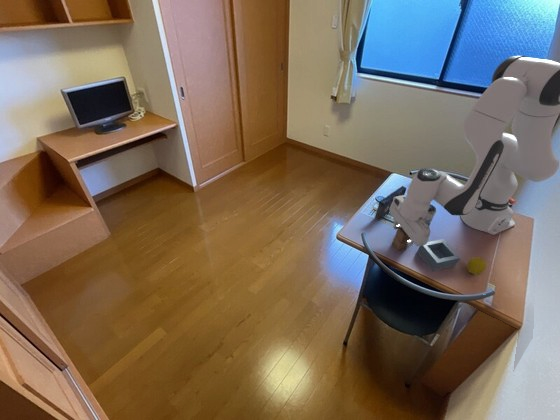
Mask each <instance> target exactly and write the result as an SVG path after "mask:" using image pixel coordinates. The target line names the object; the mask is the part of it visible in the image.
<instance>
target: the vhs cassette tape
mask: <svg viewBox="0 0 560 420" xmlns="http://www.w3.org/2000/svg"><path fill="white" fill-rule="evenodd" d="M405 193H407V187H405V186H404V185H402V186H401V187H399V188H396V190H395V191H393V192H391V193H390V194H389V195H387V196H386V197H385V198H383V199H381V200H380V201H379V202H378V206H377V209H376V212H375V216H374V218H375V219H376V220H378V221H380V220H382V219H383V218H385V217H386V216H387V215H389V214H390V213H389V212H390V206H391V204H392V202H393V198H394V197H396V196H401V195H406V194H405ZM388 213H389V214H388ZM386 214H387V215H386ZM385 215H386V216H385ZM384 216H385V217H384Z"/></svg>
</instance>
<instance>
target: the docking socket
mask: <svg viewBox="0 0 560 420" xmlns="http://www.w3.org/2000/svg"><path fill="white" fill-rule="evenodd" d="M416 252H417V253H418V255H419V256H420V257H421V259H423V261H424V262H425V264H427V266H428V267H429V269H430V270H431V271H432V272H435V271H439V270H440V271H441V270H443V269H449V268H454V267H456V265H458V262H460V259H461V257H460V256H459V254H458V253H457V252H456V251H455V250H454V249H453V248H452V247H451V246H450V245H449V243H448V242H446V240H445V239H444V238H442V239H435V240H432V241H427V243H426V244H425V245H422V246H418V249H417V251H416Z"/></svg>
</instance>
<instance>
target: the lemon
mask: <svg viewBox="0 0 560 420" xmlns="http://www.w3.org/2000/svg"><path fill="white" fill-rule="evenodd" d="M486 268H487V262H486V261H485V260H484V259H483V258H482V257H477V256H476V257H475V256H474V257H472V258H471V259H469V261H468V262H467V264H466V269H467V270H468V271H467V272H469V273H470V274H472V275H481V274H482V273H484V272H485V270H486Z"/></svg>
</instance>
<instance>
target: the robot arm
mask: <svg viewBox="0 0 560 420" xmlns="http://www.w3.org/2000/svg"><path fill="white" fill-rule="evenodd" d="M559 116H560V62H557V61H555V60H552V59H551V60H550V59H541V58H536V57H527V56H526V55H525V56H524V55H512V56H510V57H508V58H506V59H504V60H503V61H502V62H500V63H499V65H498V66H497V67H496V69H495V70H494V72H493V74H492V78H491V84H490V85H489V86H488V87H487V88H486V89H485V90H484V91H483V93H482V94H481V95H480V97H478V99H477V100H476V101H475V103H474V104H473V105H472V107H471V109H470V110H469V112H467V115H466V117H465V118H464V121H463V123H462V129H461V130H462V135H463V137H464V139H465V140H466V142H467V143H468V144H469V145H470V147H471V149H472V150H473V152H474V154H475V156H476V162H475V163H476V164H475V166H474V168H473V170H472V171H471V174H470V175H469V177H468V179H467V182H466V183H465V184H463V183H462V182H460V181H459V180H457V179H455V178H454V177H453V176H451V175H449V174H448V173H447V172H444V171H442V170H437V169H434V168H430V167H424V168H421V169H418V171H417V172H416V173H415V174H414V176H413V178H412V179H411V181H410V184H409V185H408V187H407V189H406V194H404V195H401V196H396V197H394V198H393V202H392V204H391V206H390V213H389V214H390V215H391V216H392V217H393V228H394V230H397V229H398V227H402V228H403V230H404V231H405V232H406V233H407V235H408V236H409V237H410V238H411V239H410V241H409V240H408V241H407V243H406V244H407V247H412V246H413V245H415V246H416V247H420V246H422V245H425V244H426V243H427V242H429V239H430V236H431V229H430V225H429V224H426V223H425V221H424V220H423V219H424V218H425V216H426V214H427V212H428V210H429V207H430V204H431V203H432V202H433V201H435V203H437V204H438V205H440V206H441V207H442V208H443V209H444V210H445V211H447V213H449V214H450V215H451V216H460V219H461V220H462V221H463V223H465V224H466V225H467V226H468V227H470V228H472V229H474V230H478V231H480V232H481V231H482V232H485V233H488V234H490V235H492V236H493V235H497V234H499V233H501V232H504V231H506V230H508V229H510V228H513V227H515V225H516V222H515V220H514V219H513V218H514V217H513V216H514V211H513V209H512V208H511V207H510V206H509V204H510V205H514V204H515V203H516V199H513V198H512V196H513V195H514V194H515V192H516V191H517V190H518V186H519V184H518V183H519V181H518V180H517V177H516V175H517V176H519V177H520V178H524V179H526V180H529V181H532V182H534V183H539V182H544V181H546V180H548V179H550V178H551V177H552V176H554V175H555V174H556V173H557V171H558V169H559V167H560V166H559V165H560V161H559V159H558V158H557V156H556V155H555V152H554V149H553V145H552V133H553V130H554V127H555V124H556V122H557V119H558V117H559ZM512 119H513V120H512ZM511 120H512V122H511ZM510 122H511V129H510V130H511V133H508V132H505V130H506V128H507V126H508V125H509V123H510ZM515 174H516V175H515Z"/></svg>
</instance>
